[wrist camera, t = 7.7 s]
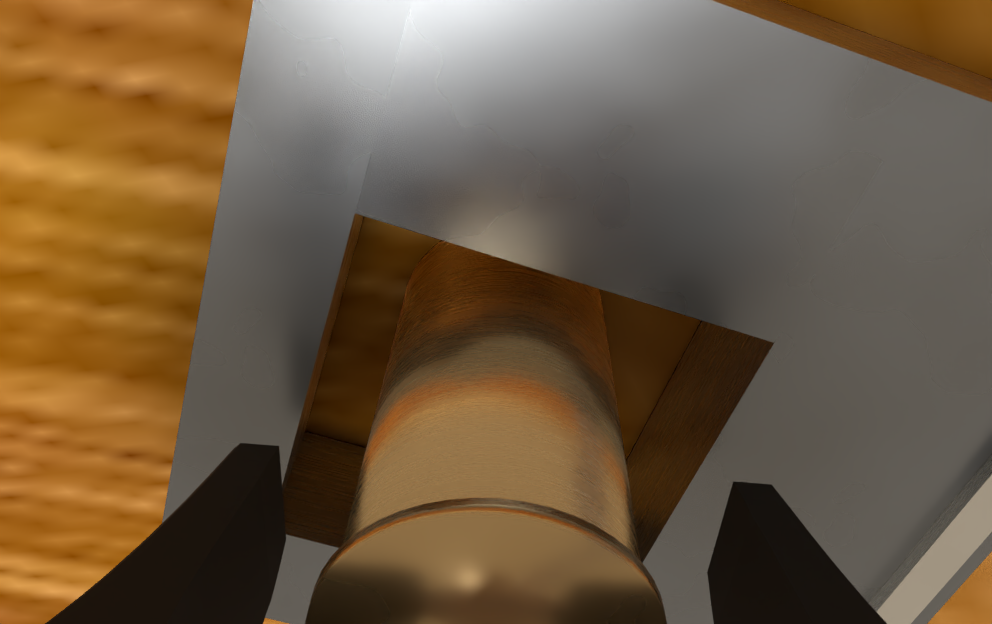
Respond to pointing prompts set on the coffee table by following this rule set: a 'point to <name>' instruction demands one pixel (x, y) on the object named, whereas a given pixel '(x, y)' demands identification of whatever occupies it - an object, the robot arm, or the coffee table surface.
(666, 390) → the jig
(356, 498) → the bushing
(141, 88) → the coffee table surface
